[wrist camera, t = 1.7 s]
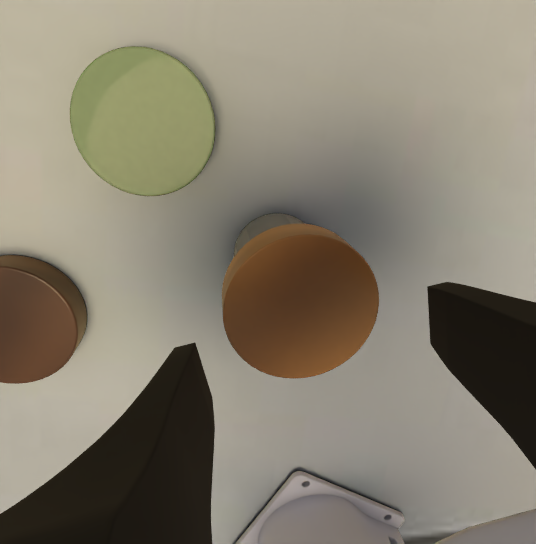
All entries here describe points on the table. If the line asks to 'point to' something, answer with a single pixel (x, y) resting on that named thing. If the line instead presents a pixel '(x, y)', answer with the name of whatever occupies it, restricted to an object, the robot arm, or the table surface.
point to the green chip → (142, 121)
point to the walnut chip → (37, 319)
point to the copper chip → (298, 301)
